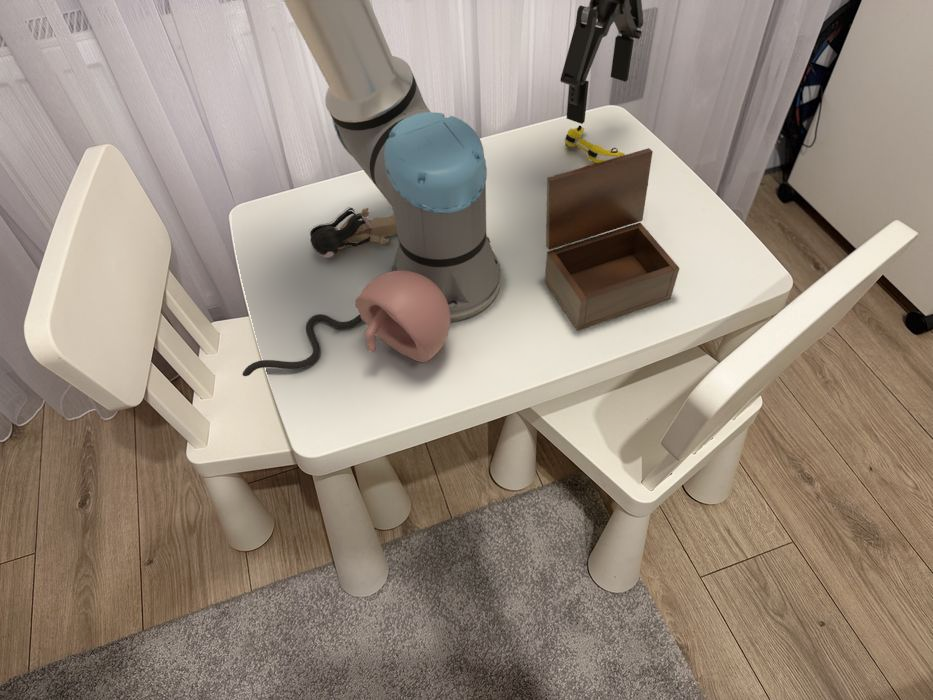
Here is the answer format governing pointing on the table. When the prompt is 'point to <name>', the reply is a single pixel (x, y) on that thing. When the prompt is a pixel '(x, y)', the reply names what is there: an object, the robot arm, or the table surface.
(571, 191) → the lid
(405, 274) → the mortar and pestle
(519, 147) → the table surface
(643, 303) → the chest
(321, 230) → the toy figure
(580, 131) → the yellow curved piece
